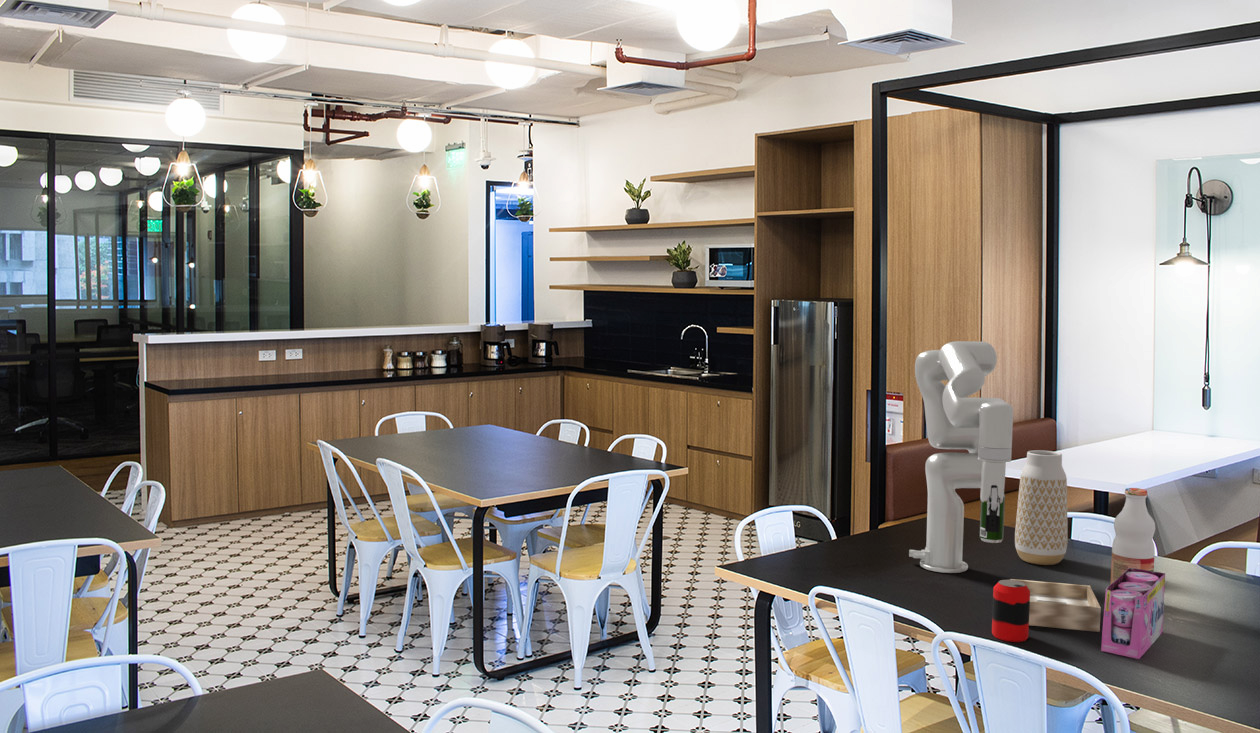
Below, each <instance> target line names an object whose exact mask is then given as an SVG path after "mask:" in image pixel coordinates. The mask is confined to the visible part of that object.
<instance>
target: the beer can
mask: <svg viewBox="0 0 1260 733" xmlns="http://www.w3.org/2000/svg"><path fill="white" fill-rule="evenodd" d="M989 502H991V500H989ZM997 502H998V500H997ZM1005 502H1006V495H1005V494H1004V495H1003V502H1002V503H1001V504H1000V505H999V515H1000V531H999V532H986V531H985V519H986V514H987V501H984V503H983V502H982V501H981V500H980V512H979V513H980V514H979V517H980V518H979V519H980V520H979V538H980V540H981V541H982V542H985V543H990V544H997V543H999V544H1000V543H1002V542H1003V540H1004V531H1005V530H1004V529H1005V509H1006V508H1005V507H1006V506H1005V505H1006V504H1005ZM990 506H991V505H990ZM989 511H990V509H989Z"/></svg>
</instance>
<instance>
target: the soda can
mask: <svg viewBox="0 0 1260 733" xmlns="http://www.w3.org/2000/svg"><path fill="white" fill-rule="evenodd" d="M992 589H993V593H992V618H991V620H992V622H991V634H992V635H993V637H994V638H996V639H998V640H1001V641H1004V642H1010V643H1011V642H1012V643H1022V642H1025V641H1027V639H1028V638H1029V633H1030V631H1029V630H1030V628H1029V626H1030V625H1029V608H1030V590H1029V589H1028V587H1027V586H1026V584H1025V583H1023V582H1020V581H1016V580H1010V579H1001V580H999V581H997V583H996V584H995V585H994V586H993V588H992Z"/></svg>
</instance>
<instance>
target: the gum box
mask: <svg viewBox="0 0 1260 733" xmlns="http://www.w3.org/2000/svg"><path fill="white" fill-rule="evenodd" d="M1165 588H1166V573H1165V572H1159V571H1155V570H1154V571H1148V570H1142V569H1135V568H1129V569H1127V570H1126V571H1125V572H1124V573H1123V574H1122V575H1121V576H1120V577H1119V578H1117V579H1116V580H1115V581H1114V582H1113V583H1112V584H1111V585H1110V584H1109V585H1108V586H1107V587H1106V588H1105V594H1104V596H1105V597H1104V608H1103V620H1102V630H1101V632H1102V633H1101V634H1102V635H1101V645H1100V646H1101V648H1100V651H1101V652H1105V653H1110V654H1114V655H1119V656H1124V657H1128V658H1133V659H1136V660H1140V659H1141V657H1142V656H1143V655H1145V653H1146V652H1147V651H1148V650H1149V649H1150V648H1151V646H1152V645H1153V644H1154V643H1155V642H1156V640H1158V638H1159V637H1160V636H1161V635H1162V634H1163V631H1164V630H1163V628H1164V626H1163V625H1164V608H1165V607H1164V606H1165V605H1164V604H1165Z"/></svg>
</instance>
